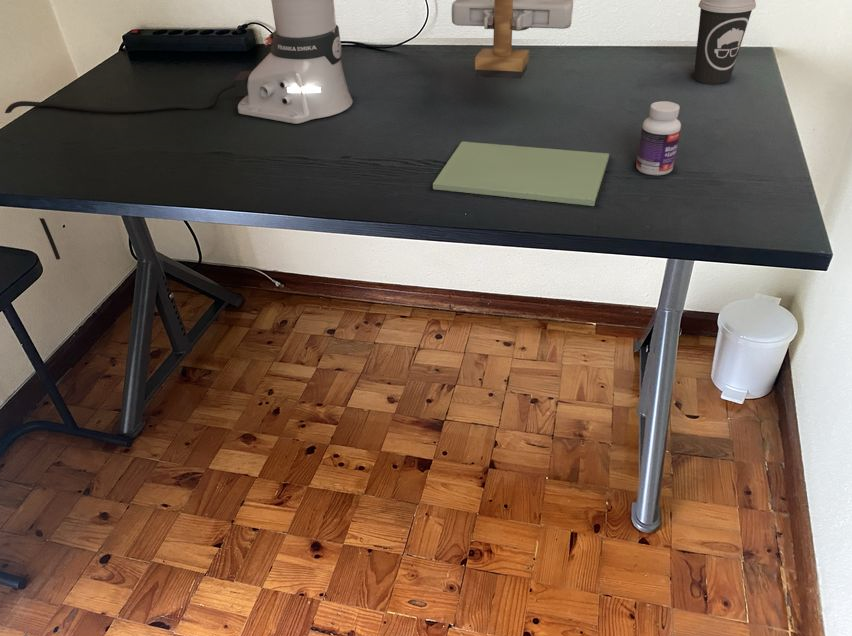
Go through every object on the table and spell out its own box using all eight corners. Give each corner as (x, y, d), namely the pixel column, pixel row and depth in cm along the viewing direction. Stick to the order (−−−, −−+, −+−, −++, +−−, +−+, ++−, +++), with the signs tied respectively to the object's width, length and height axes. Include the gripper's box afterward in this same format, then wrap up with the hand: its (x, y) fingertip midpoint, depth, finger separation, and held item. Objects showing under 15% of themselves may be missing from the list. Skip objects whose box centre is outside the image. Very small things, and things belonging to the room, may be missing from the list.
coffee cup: (743, 73, 140) (763, -12, 131) (732, 89, 134) (752, 1, 125) (692, 67, 144) (708, -16, 135) (678, 83, 138) (694, -3, 129)
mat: (432, 189, 111) (432, 183, 110) (461, 146, 122) (461, 141, 122) (594, 206, 104) (594, 200, 103) (608, 159, 115) (609, 153, 114)
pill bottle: (667, 179, 108) (678, 115, 102) (631, 172, 111) (640, 109, 105) (677, 164, 112) (689, 102, 106) (641, 158, 114) (651, 97, 108)
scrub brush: (474, 76, 123) (475, -9, 115) (482, 67, 126) (483, -16, 118) (522, 79, 120) (526, -8, 112) (528, 69, 124) (532, -16, 116)
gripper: (462, -19, 129) (439, 2, 119) (580, -18, 122) (566, 4, 113) (462, 19, 133) (440, 42, 123) (577, 22, 126) (563, 47, 117)
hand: (502, 24), depth 118 cm, fingers closed on scrub brush, 3 cm apart
